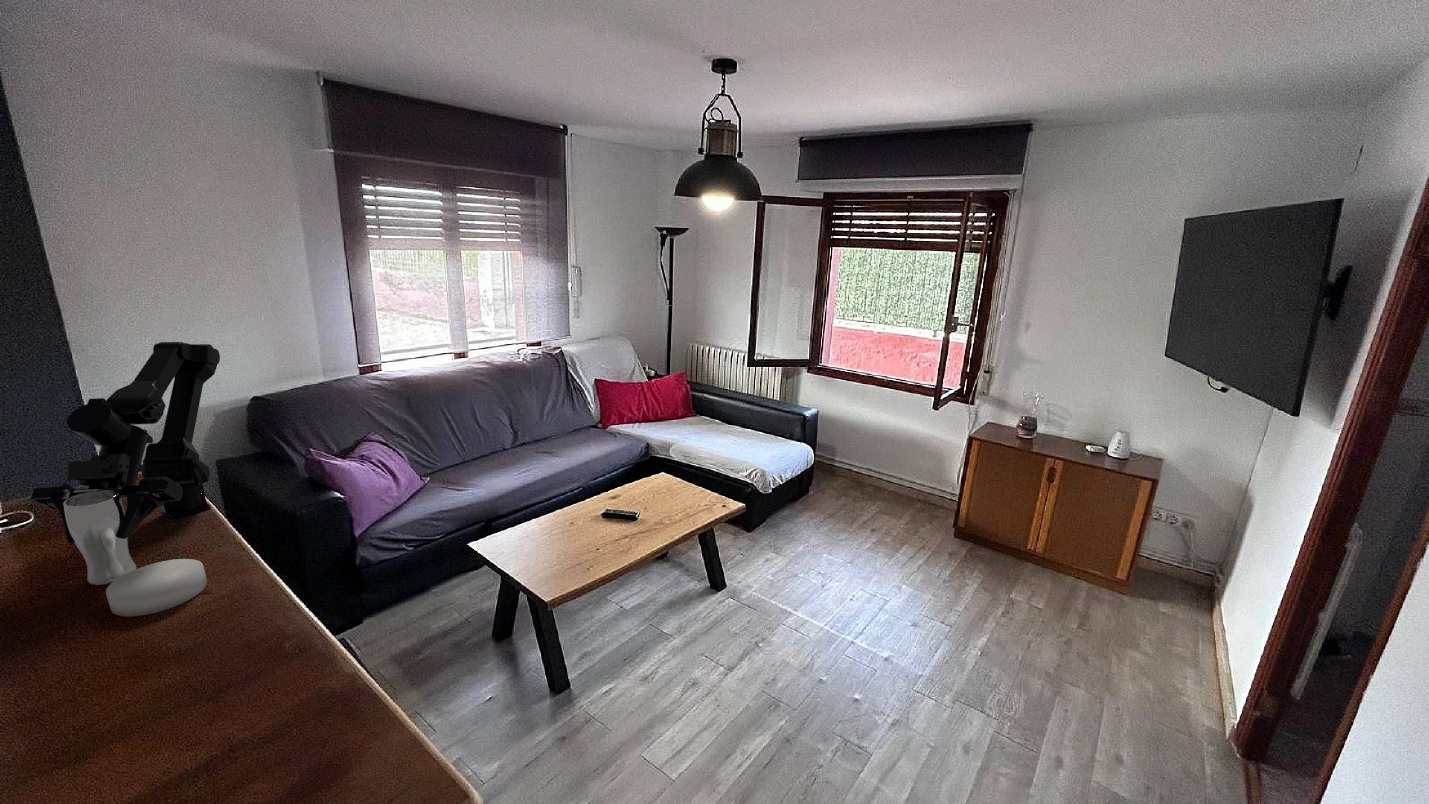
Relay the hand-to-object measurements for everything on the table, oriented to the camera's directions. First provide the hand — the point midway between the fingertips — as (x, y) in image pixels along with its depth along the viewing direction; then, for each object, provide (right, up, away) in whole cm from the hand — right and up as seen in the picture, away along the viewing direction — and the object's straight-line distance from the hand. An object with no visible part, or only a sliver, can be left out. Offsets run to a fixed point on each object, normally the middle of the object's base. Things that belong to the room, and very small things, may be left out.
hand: (96, 540), depth 100 cm
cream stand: (+12, -9, -1) cm, 15 cm away
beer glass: (-1, -7, +3) cm, 8 cm away
